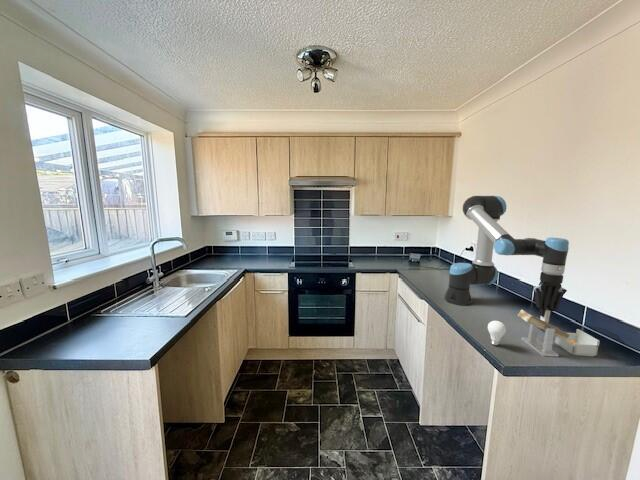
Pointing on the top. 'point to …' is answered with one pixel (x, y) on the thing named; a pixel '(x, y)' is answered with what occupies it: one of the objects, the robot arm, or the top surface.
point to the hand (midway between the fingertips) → (543, 322)
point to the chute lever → (541, 324)
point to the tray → (579, 344)
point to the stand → (540, 347)
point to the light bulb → (496, 331)
